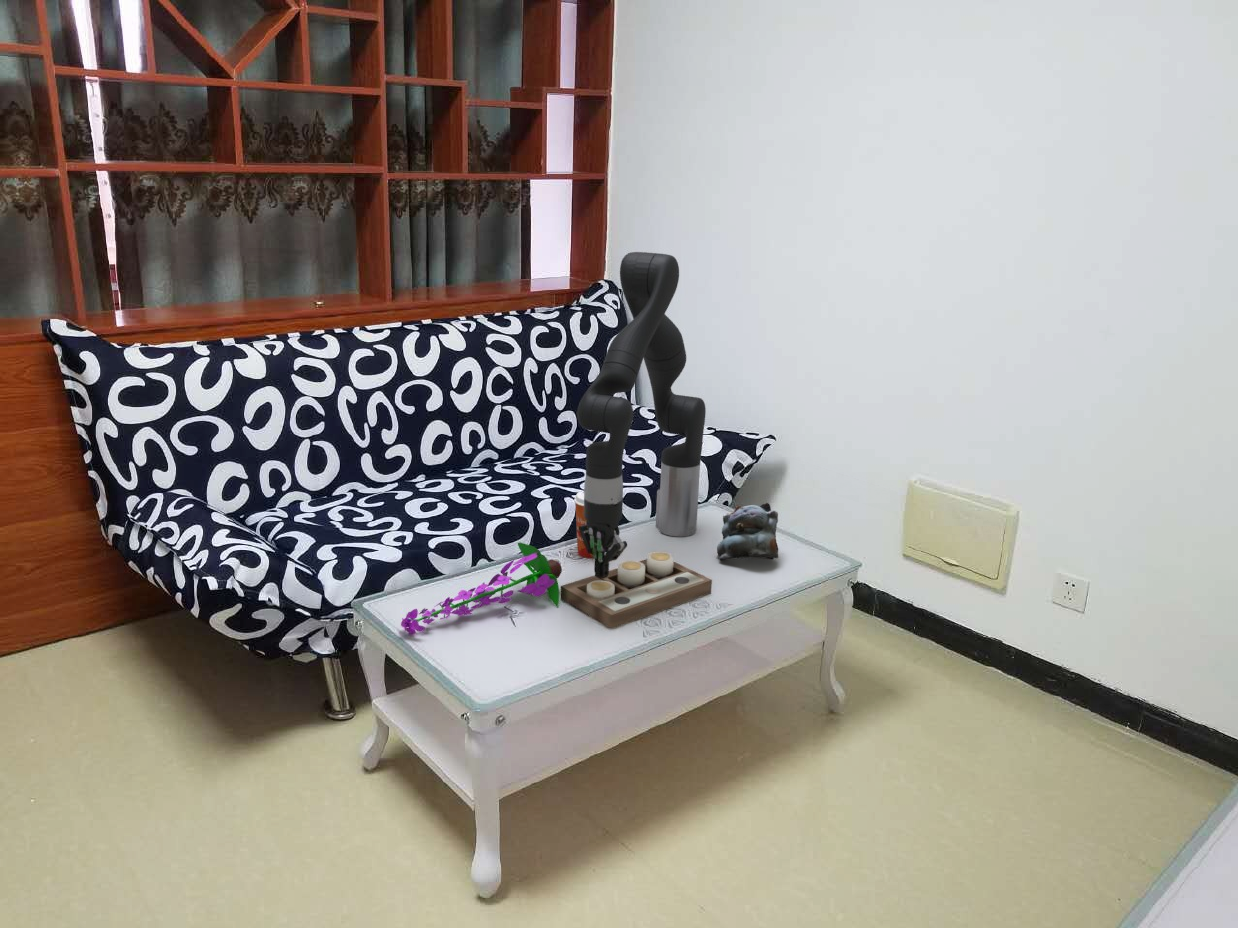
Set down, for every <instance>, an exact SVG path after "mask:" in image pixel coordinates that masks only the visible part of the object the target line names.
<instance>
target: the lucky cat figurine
mask: <svg viewBox="0 0 1238 928" xmlns="http://www.w3.org/2000/svg"><path fill="white" fill-rule="evenodd" d="M771 508H772V507H771V505H770V503H768V502H765V503H762V504H761V505H757V504H751V505H749V504H748V505H745V506H743V505H738V506H736V508H735V509H734V511H733V512H731V513H726V514H725V515H722V521H723V525H722V527H721V534H722V540H721V541H720V542H719V543H718V544H717V547H716V553H717V555H718V557H717V559H718V560H720V561H723V560H732V559H748V558H749V559H750V558H751V559H752V558H753V559H755V558H756V559H769V560H773V559H778V558H779V546H778V543H777V534H776V533H777V525H778V522H779V517H778V516H779V513H778V511H776V510H772V509H771Z"/></svg>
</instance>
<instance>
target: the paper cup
mask: <svg viewBox="0 0 1238 928" xmlns="http://www.w3.org/2000/svg"><path fill="white" fill-rule="evenodd" d="M573 502H574V503H575V518H576V519H575V521H576V522H575V523H576V543H577V545H576V547H577V555H578V556H580V557H581V558H585V559H593V555H592V554H589V553H588V552H587V549H586V547H585V544H584V542H583V539H582V537H581V534H580V532H579V526H582V525H585V524H586V521H587V520H586V519H585V518H584V491H579V492H577V493H576V496H575V497H574V499H573Z"/></svg>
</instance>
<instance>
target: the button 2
mask: <svg viewBox="0 0 1238 928" xmlns="http://www.w3.org/2000/svg"><path fill="white" fill-rule="evenodd" d="M674 558H675V557H674V555H673V554H671V553H669V552H665V551H653V552H650V553H648V554H647V555H646V559H647V572H648V573H650V574H653V575H658V576H664V575H669V574H671V573H672V572H673V563H674V562H675V559H674Z"/></svg>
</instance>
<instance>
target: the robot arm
mask: <svg viewBox="0 0 1238 928" xmlns="http://www.w3.org/2000/svg"><path fill="white" fill-rule="evenodd" d="M619 279H620V286H621V289H622V292H623V296H624V298H625V301H626V304H627V306H628V308H629V311H630V314H631V316H632V318H633V319H632V320H631V321H630V322H629V323H628V324H626V326H624V327H623V328H622V329H621V330H620V331H619V332H618V333H617V334H616V336H615V337H614V338H613V339H612V341H611V343H610V345H609V347H608V349H607V351H606V355H605V357H604V360H603V364H602V366H601V369H600V371H599V373H598V375H597V376H596V377H595V379H594V380H593V382H592V383H591V385H590V386H589V387H588V388H587V390H586V391H585V393H584V394H583V396H582V397H581V399H580V401H579V404H578V406H577V410H576V417H577V421H578V424H579V425H580V427H582V429H584V430H586V431H590V432H599V433H604V434H609V438H608V440H604V441H597V442H595V441H594V442H592V443H589V445H588V446H587V448H586V453H585V454H586V455H585V458H586V459H585V477H584V487H583V488H584V489H583V492H584V518H585V519H586V520H587V521H586V524H585V525H582V526H579V532H580V534H581V537H582V539H583V542H584V544H585V547H586V549H587V552H588V553H589V554H592V555H593V558H592V559H593V560H594V575H595V576H596V577H598V578H599V579H603V578H606V577H607V576H608V574H609V571H610V562H613V561H616V560H618V558H619V557H620V556H621V555H622V553H623V552H624V550H625V549H626V548H627V547H628V542H627V541H626V540H624V541H622V539H621V537H620V528H619V523H620V522H621V520H622V518H623V505H624V504H623V499H624V497H623V496H624V481H623V461H624V459H623V458H624V452H625V446H626V444H627V443H626V442H627V439H628V437H629V433H630V429H631V428H632V427H631V426H632V424H633V420H634V408H633V405H632V403H631V402H630V401H629V400H628V399H627V398H625V397H621V396H612V395H615V394H620V393H627V392H629V391H631V390H632V389H633V388H634V387H635V384H636V382H637V379H638V375H639V373H640V370H641V367H642V363H643V361H644V365H645V367H646V371H647V375H648V377H649V381H650V382H649V383H650V386H651V392H652V399H653V406H654V413H655V418H656V419H655V420H656V423H657V426H658V428H659V429H660V430H661V432H663V433H666V434H671V435H677V436H685V440H684V442H683V443H679V444H673V445H669V446H667V447H664V448H663V450H662V452H661V461H660V462H661V467H660V485H659V486H660V487H659V488H658V489H657V490H656V510H655V527H656V528H657V529H658V531H659V532H660V533H661V534H664V535H667V536H669V537H670V536H672V537H688V536H691V535H694V534H696V533H697V525H698V524H697V523H698V522H697V521H698V508H699V493H700V489H699V488H700V478H701V476H700V473H701V457H702V452H703V451H702V450H703V442H704V441H703V439H704V429H705V423H706V413H707V412H706V409H707V408H706V404H705V401H704V399H702V398H700V397H697V396H691V395H690V396H689V395H683V394H682V395H681V394H675V393H674V392H673V390H672V386H673V385H674V383H675V382H676V381H677V379H678V378H679V377H680V375H681V373H682V372H683V371H684V368H685V366H686V363H687V352H686V347H685V343H684V338H683V334H682V332H681V331H680V329H679V328H678V327H677V326H676V324H675V323H674V322H673V320H671V319H670V318H669V316H668V315H666V312H667V310H668V308H669V307H670V305H671V302H672V300H673V298H674V296H675V295H676V294H675V293H676V291H677V289H678V284H679V281H680V280H679V279H680V266H679V262H678V260H677V259H676V258H675V256H673V255H671V254H667V253H657V252H645V251H644V252H643V251H633V252H632V251H631V252H629V253H627V254H625V255H624V256H623V258H622V260H621V262H620V267H619Z"/></svg>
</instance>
